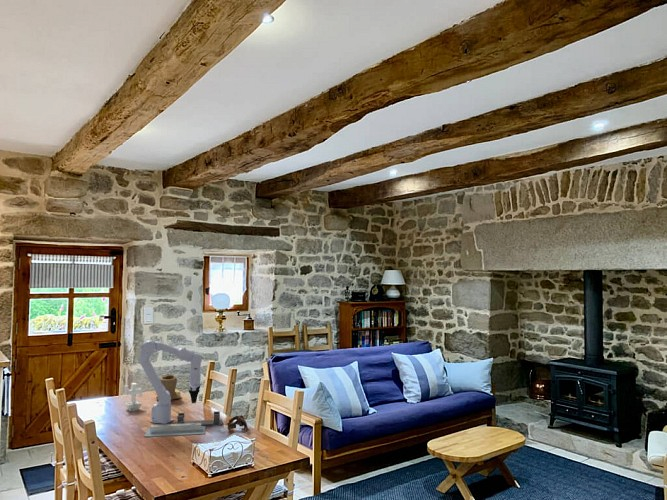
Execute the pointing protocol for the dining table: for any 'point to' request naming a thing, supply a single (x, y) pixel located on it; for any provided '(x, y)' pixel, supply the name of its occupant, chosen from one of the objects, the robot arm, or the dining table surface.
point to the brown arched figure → (237, 422)
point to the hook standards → (203, 422)
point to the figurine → (133, 397)
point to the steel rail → (175, 427)
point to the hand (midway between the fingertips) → (194, 401)
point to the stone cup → (170, 385)
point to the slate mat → (175, 433)
